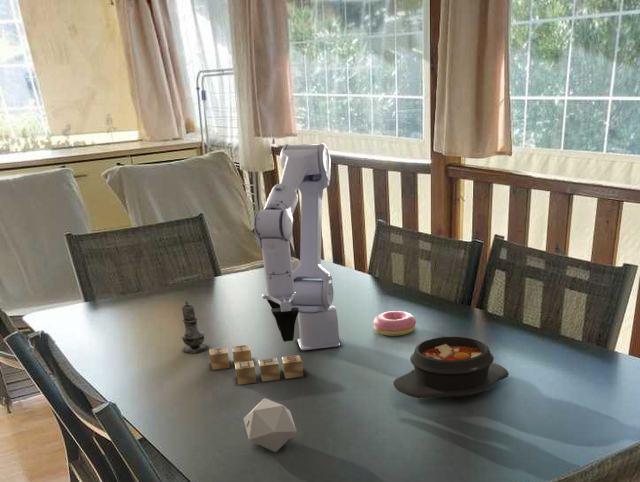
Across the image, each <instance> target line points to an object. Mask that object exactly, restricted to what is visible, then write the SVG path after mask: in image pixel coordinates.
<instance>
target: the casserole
mask: <svg viewBox="0 0 640 482" xmlns="http://www.w3.org/2000/svg"><path fill="white" fill-rule="evenodd" d="M409 360H410V363H411V364H412V366H413V369H412V370H410V371H408V373H405V374H404V375H401V376H399V377H397V378H395V379H394V380H393V384H392V385H393V387H394V388H395V389H396V390H397V391H398V392H399V393H401V394H403V395H406V396H409V397H411V398H414V399H415V398H416V399H433V398H442V397H446V398H447V397H449V398H450V397H452V398H453V397H464V396H472V395H475V394H479V393H482V392H485V391H487V390H489V389H491V387H493V386H494V385H496V384H497V383H498V382H500V381H503V380H504V379H506V378H508V377H509V375H510V373H509V371H508V370H507V369H506V368H505V367H504V366H503V365H500V364H499V363H497V362H494V360H495V358H494V355H493V354H492V353H491V349H490V347H489V345H487V343H485V342H484V341H482V340H479V339H478V338H477V339H476V338H474V337H473V338H472V337H468V336H467V337H466V336H454V335H453V336H452V335H451V336H439V337H433V338H429V339H426V340H423V341H421V342H420V343H418V344H417V345H416V346H415V348H414V351H413V353H412V354H411V356H410V357H409Z"/></svg>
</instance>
